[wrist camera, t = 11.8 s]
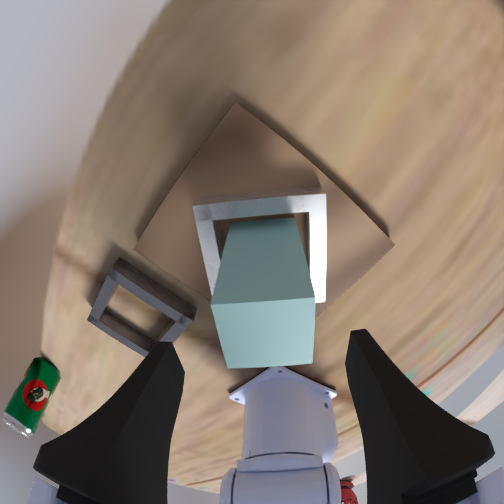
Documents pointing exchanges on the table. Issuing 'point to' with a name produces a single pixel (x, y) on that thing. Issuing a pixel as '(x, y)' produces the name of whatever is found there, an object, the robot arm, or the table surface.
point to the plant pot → (347, 493)
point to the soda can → (31, 397)
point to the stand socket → (148, 293)
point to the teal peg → (264, 296)
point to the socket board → (253, 170)
